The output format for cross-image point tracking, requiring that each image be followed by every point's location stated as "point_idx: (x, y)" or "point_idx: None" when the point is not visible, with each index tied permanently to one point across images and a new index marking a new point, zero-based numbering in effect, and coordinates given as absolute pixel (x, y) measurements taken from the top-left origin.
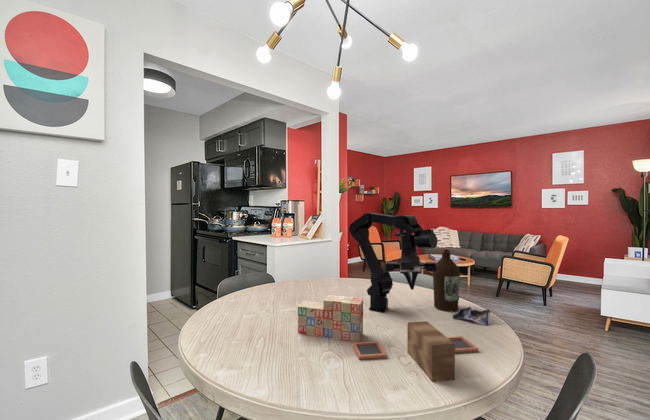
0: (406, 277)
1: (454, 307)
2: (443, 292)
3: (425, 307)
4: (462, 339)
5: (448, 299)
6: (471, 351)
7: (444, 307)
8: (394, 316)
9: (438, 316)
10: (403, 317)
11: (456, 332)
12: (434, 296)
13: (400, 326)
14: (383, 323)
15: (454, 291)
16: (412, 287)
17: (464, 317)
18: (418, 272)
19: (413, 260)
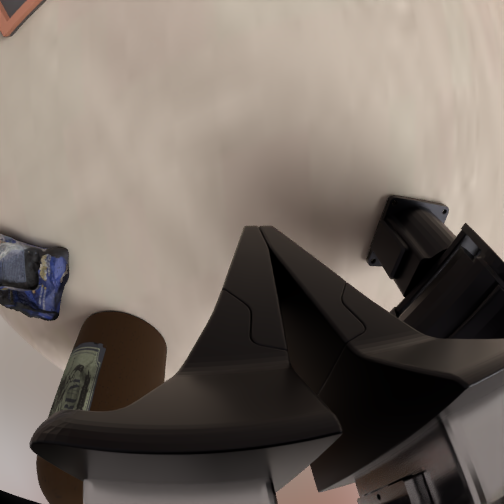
0: (388, 320)
1: (82, 329)
2: (101, 378)
3: (196, 323)
4: (6, 15)
5: (89, 351)
6: None
7: (113, 322)
8: (338, 162)
9: (122, 247)
10: (290, 164)
11: (28, 94)
12: (156, 372)
13: (298, 32)
14: (387, 52)
15: (61, 385)
16: (255, 235)
17: (22, 247)
18: (53, 436)
19: None
